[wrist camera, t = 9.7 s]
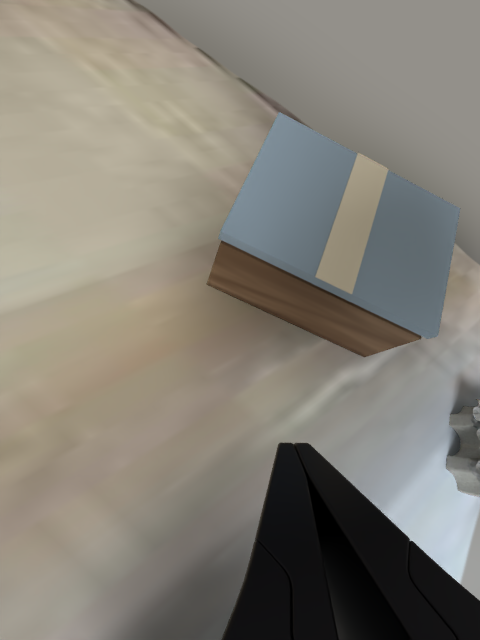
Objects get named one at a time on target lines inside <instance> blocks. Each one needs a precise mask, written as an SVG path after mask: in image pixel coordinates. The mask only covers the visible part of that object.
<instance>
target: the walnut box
mask: <svg viewBox="0 0 480 640" xmlns="http://www.w3.org/2000/svg"><path fill="white" fill-rule="evenodd" d="M207 285H209V286H211V287H213V288H216V289H218V290H220V291H222V292H224V293H226V294H229V295H231V296H233V297H235V298H237V299H239V300H242V301H244V302H246V303H248V304H250V305H252V306H255V307H257V308H259V309H261V310H263V311H265V312H268V313H270V314H272V315H274V316H276V317H278V318H280V319H283V320H285V321H287V322H289V323H291V324H293V325H296V326H298V327H300V328H302V329H304V330H306V331H309V332H311V333H313V334H315V335H317V336H319V337H322V338H324V339H326V340H328V341H330V342H332V343H335V344H337V345H339V346H341V347H343V348H345V349H348V350H350V351H352V352H354V353H356V354H358V355H361V356H363V357H366V356H369V355H372V354H376V353H379V352H382V351H385V350H388V349H391V348H394V347H397V346H400V345H404V344H407V343H410V342H413V341H416V340H419V339H421V336H420V335H418V334H416V333H414V332H412V331H410V330H408V329H406V328H404V327H402V326H400V325H397V324H395V323H393V322H391V321H389V320H387V319H385V318H383V317H381V316H379V315H377V314H374V313H372V312H370V311H368V310H366V309H364V308H362V307H360V306H358V305H356V304H354V303H352V302H349V301H347V300H345V299H343V298H341V297H339V296H337V295H335V294H333V293H331V292H329V291H327V290H324V289H322V288H320V287H318V286H316V285H314V284H312V283H310V282H308V281H306V280H304V279H302V278H299V277H297V276H295V275H293V274H291V273H289V272H287V271H285V270H283V269H281V268H279V267H276V266H274V265H272V264H270V263H268V262H266V261H264V260H262V259H260V258H258V257H256V256H254V255H251V254H249V253H247V252H245V251H243V250H241V249H239V248H237V247H235V246H233V245H231V244H229V243H226V242H224V241H221V243H220V246H219V249H218V252H217V255H216V258H215V261H214V264H213V267H212V270H211V273H210V276H209V279H208V282H207Z"/></svg>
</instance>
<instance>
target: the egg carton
mask: <svg viewBox="0 0 480 640" xmlns="http://www.w3.org/2000/svg"><path fill="white" fill-rule="evenodd" d="M476 400H478V406H476V407H467V406H463V407H462V410H461V411H460V412H459V413H457V414H450V421H449V425H450V427H452V428H453V429H454V430H455V431H456V432H457V434H458V436H459V438H460V443H461V444H460V449H459V451H458V452H457V453H456V454H455V455H452V456H451V455H448V456H447V464H446V469H447V470H449V471H450V472H451V473H452V474H453V476H454V477H455V479H456V482H457V487H458V491H460V492H463V493H465V494H469V495H473V496H477V497H480V400H479V399H476ZM474 416H475V418H476V419H475V418H474Z"/></svg>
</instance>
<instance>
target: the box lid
mask: <svg viewBox="0 0 480 640" xmlns="http://www.w3.org/2000/svg"><path fill="white" fill-rule="evenodd" d="M459 213H460V208H459V207H457V206H455V205H453V204H451V203H449V202H447V201H445V200H443V199H441V198H440V197H438V196H436V195H434V194H432V193H430V192H428V191H427V190H425V189H423V188H421V187H419V186H417V185H415V184H413V183H412V182H409V181H408V180H406V179H404V178H402V177H400V176H398V175H397V174H395V173H393V172H391V171H389V170H388V168H386V167H384V166H382V165H381V164H379V163H377V162H375V161H373V160H371V159H369V158H367V157H366V156H364V155H362V154H360V153H358V154H357V153H355V152H353V151H351V150H350V149H348V148H346V147H344V146H342V145H340V144H338V143H337V142H335V141H333V140H331V139H329V138H327V137H325V136H323V135H322V134H320V133H318V132H316V131H314V130H312V129H310V128H308V127H307V126H305V125H303V124H301V123H299V122H297V121H295V120H293V119H291V118H290V117H288V116H286V115H284V114H282V113H280V112H279V113H278V115H277V117H276V119H275V121H274V123H273V125H272V128H271V130H270V132H269V134H268V136H267V138H266V140H265V142H264V144H263V146H262V148H261V150H260V152H259V154H258V156H257V158H256V160H255V162H254V164H253V166H252V168H251V170H250V172H249V174H248V176H247V178H246V180H245V182H244V184H243V186H242V188H241V191H240V193H239V195H238V197H237V199H236V201H235V203H234V205H233V207H232V209H231V211H230V213H229V215H228V217H227V219H226V221H225V223H224V225H223V227H222V229H221V231H220V234H219V238H218V239H220V240H222V241H224V242H226V243H229V244H231V245H233V246H235V247H237V248H239V249H241V250H243V251H245V252H247V253H249V254H251V255H254V256H256V257H258V258H260V259H262V260H264V261H266V262H268V263H270V264H272V265H274V266H276V267H279V268H281V269H283V270H285V271H287V272H289V273H291V274H293V275H295V276H297V277H299V278H302V279H304V280H306V281H308V282H310V283H312V284H314V285H316V286H318V287H320V288H322V289H324V290H327V291H329V292H331V293H333V294H335V295H337V296H339V297H341V298H343V299H345V300H347V301H349V302H352V303H354V304H356V305H358V306H360V307H362V308H364V309H366V310H368V311H370V312H372V313H374V314H377V315H379V316H381V317H383V318H385V319H387V320H389V321H391V322H393V323H395V324H397V325H400V326H402V327H404V328H406V329H408V330H410V331H412V332H414V333H416V334H418V335H420V336H422V337H425V338H427V339H429V338H433V337H437V336H438V332H439V327H440V321H441V315H442V310H443V304H444V298H445V293H446V287H447V281H448V276H449V270H450V264H451V259H452V253H453V247H454V242H455V236H456V230H457V224H458V219H459Z"/></svg>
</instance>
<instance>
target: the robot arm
mask: <svg viewBox="0 0 480 640" xmlns="http://www.w3.org/2000/svg"><path fill="white" fill-rule="evenodd" d="M221 640H480V601H479V600H478V599H477V598H476V597H475V596H473V595H472V594H471V593H470V592H469V591H468V590H466V589H465V588H464V587H463V586H462V585H460V584H459V583H458V582H457V581H456V580H455V579H453V578H452V577H451V576H450V575H449V574H448V573H447V572H446V571H444V570H443V569H442V568H441V567H440V566H439V565H438V564H437V563H436V562H435V561H433V560H432V559H431V558H430V557H429V556H428V555H427V554H426V553H425V552H424V551H423V550H422V549H421V548H419V547H418V546H417V545H416V544H415V543H414V542H413V541H410V539H409V537H408V536H407V535H405V534H404V533H403V532H402V531H401V530H400V529H399V528H398V527H397V526H396V525H395V524H394V523H393V522H392V521H391V520H390V519H388V518H387V517H386V516H385V515H384V514H383V513H382V512H381V511H380V510H379V509H378V508H377V507H376V506H375V505H374V504H373V503H372V502H370V501H369V500H368V499H367V498H366V497H365V496H364V495H363V494H362V493H361V492H360V491H359V490H358V489H357V488H356V487H355V486H353V485H352V484H351V483H350V482H349V481H348V480H347V479H346V478H345V477H344V476H343V475H342V474H341V473H340V472H339V471H338V470H336V469H335V468H334V467H333V466H332V465H331V464H330V463H329V462H328V461H327V460H326V459H325V458H324V457H323V456H322V455H321V454H320V453H318V452H317V451H316V450H315V449H314V448H313V447H312V446H311V445H310V444H308V443H295V444H292V443H279V444H278V448H277V452H276V456H275V460H274V464H273V468H272V472H271V476H270V481H269V485H268V489H267V493H266V497H265V501H264V505H263V509H262V513H261V517H260V521H259V526H258V530H257V534H256V538H255V542H254V545H253V549H252V553H251V558H250V561H249V565H248V568H247V572H246V575H245V579H244V582H243V585H242V587H241V590H240V593H239V596H238V598H237V601H236V604H235V607H234V609H233V612H232V614H231V617H230V619H229V622H228V624H227V627H226V629H225V632H224V634H223V637H222V639H221Z"/></svg>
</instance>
